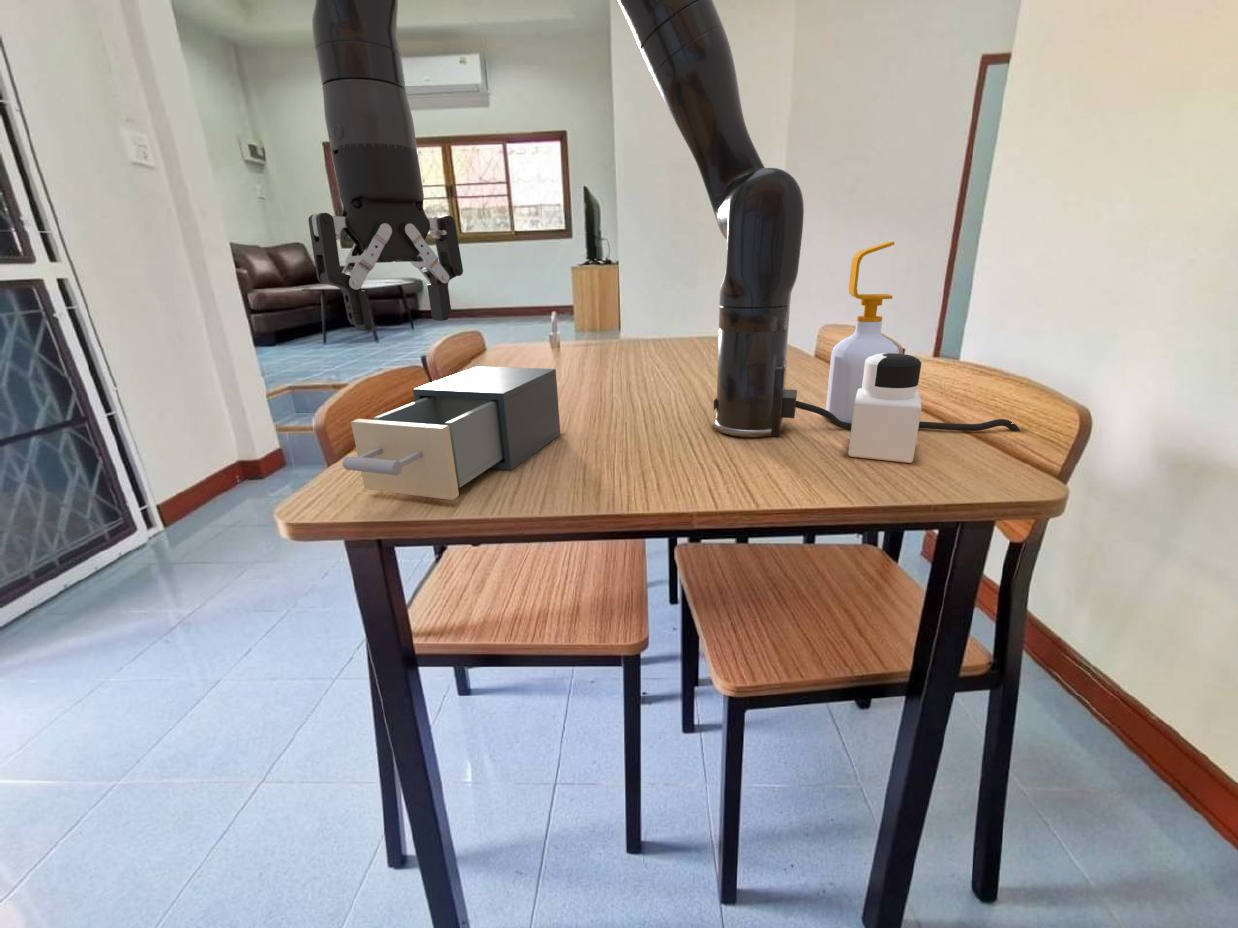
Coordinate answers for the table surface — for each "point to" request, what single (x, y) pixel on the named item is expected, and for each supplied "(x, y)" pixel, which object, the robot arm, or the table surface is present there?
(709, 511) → the table surface
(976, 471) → the table surface
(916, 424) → the medicine bottle
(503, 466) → the cabinet
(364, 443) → the drawer
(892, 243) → the soap bottle
